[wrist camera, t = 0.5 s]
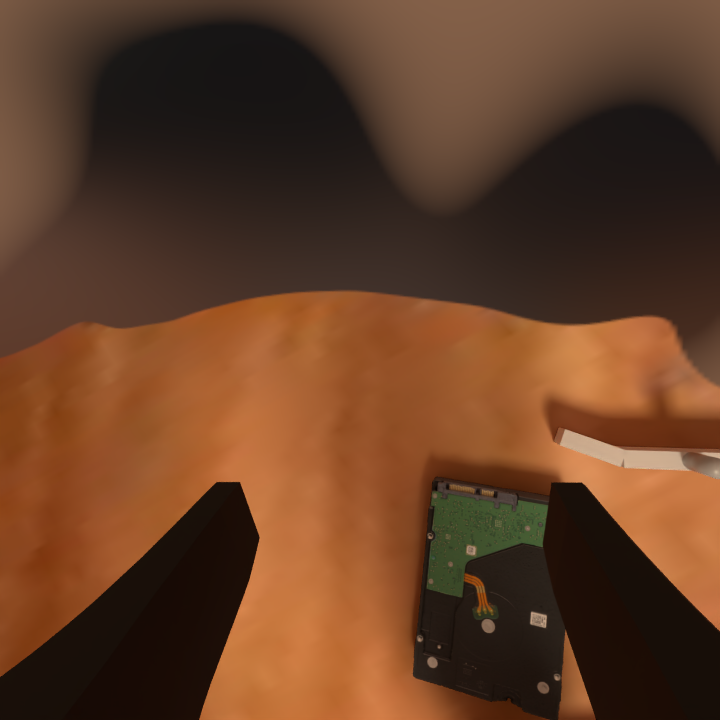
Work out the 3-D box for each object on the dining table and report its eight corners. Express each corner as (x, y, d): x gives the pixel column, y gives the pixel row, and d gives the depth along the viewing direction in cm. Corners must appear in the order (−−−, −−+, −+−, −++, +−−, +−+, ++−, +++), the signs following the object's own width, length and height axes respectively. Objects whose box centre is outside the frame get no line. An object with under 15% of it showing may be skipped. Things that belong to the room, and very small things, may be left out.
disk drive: (554, 696, 31) (568, 495, 32) (562, 724, 28) (576, 504, 29) (416, 657, 34) (432, 474, 35) (411, 680, 31) (428, 481, 32)
